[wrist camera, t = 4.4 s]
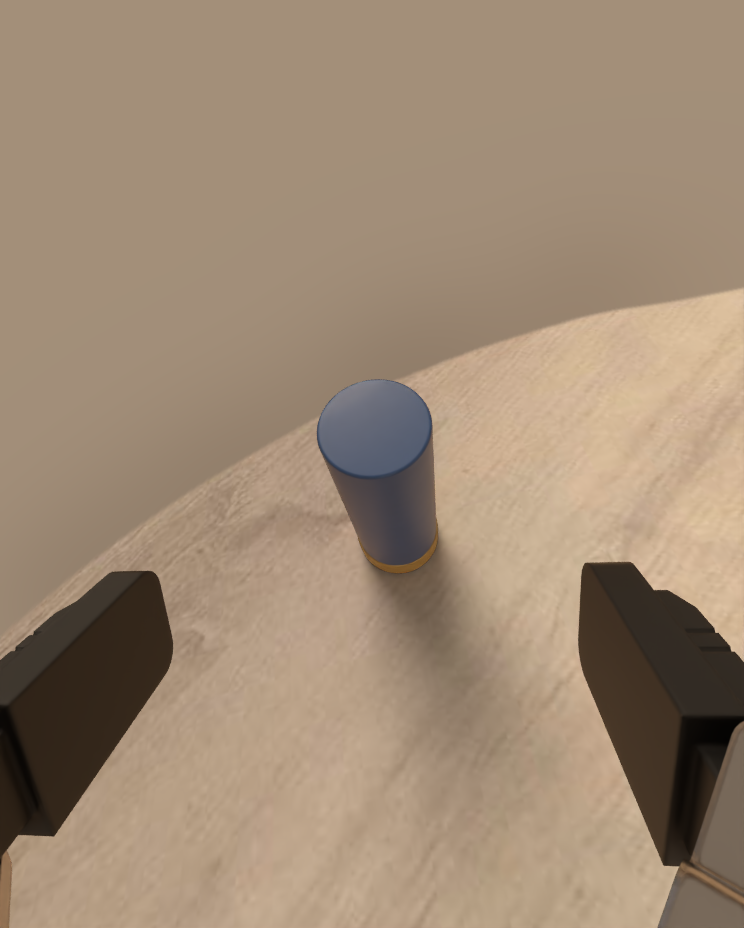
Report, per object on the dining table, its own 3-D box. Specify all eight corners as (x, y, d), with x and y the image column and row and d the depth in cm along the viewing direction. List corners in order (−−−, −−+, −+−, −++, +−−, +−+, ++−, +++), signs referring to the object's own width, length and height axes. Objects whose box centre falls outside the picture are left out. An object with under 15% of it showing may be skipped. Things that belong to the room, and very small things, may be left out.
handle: (345, 547, 21) (290, 443, 13) (389, 487, 22) (360, 359, 14) (409, 590, 20) (388, 502, 12) (452, 525, 21) (457, 408, 13)
